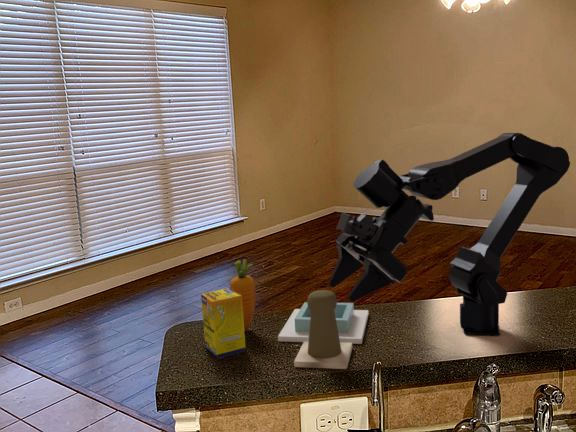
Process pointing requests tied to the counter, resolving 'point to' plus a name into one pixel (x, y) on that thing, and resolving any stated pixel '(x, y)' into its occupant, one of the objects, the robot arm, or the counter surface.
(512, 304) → the counter surface
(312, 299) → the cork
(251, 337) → the counter surface
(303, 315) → the housing
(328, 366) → the pad
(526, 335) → the counter surface
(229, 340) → the supplement box
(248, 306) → the carrot
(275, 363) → the counter surface
